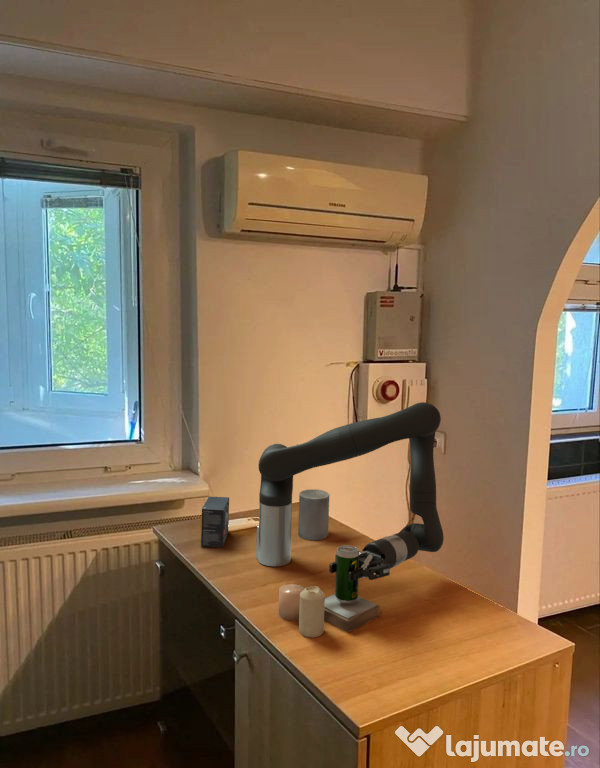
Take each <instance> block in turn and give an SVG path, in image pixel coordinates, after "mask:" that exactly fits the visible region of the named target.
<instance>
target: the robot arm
mask: <svg viewBox="0 0 600 768" xmlns="http://www.w3.org/2000/svg"><path fill="white" fill-rule="evenodd" d="M441 421H442V418H441V414H440V411H439V409H438V408H437V407H436V406H435V405H433V404H431V403H429V402H425V401H424V402H423V401H422V402H421V401H420V402H417V403H415V404H413V405H410V406H409V407H405V408H403V409H402V410H401V409H400V410H398V411H395V412H393V413H390V414H388V415H384V416H380V417H376V418H375V417H374V418H369V419H364V420H360V421H357V422H352V423H347V424H345V425H342V426H338V427H334V428H332V429H329V430H327V431H325V432H323V433H322V434H319V435H318V436H317V435H316V437H313V438H312V439H310V440H308V441H306V442H303V443H299V444H296V445H290V446H288V447H287V446H286V445H284V444H282V443H273V444H271V445H268V446H267V447H266V448H265V449H264V450H263V452H262V454H261V455H260V458H259V460H258V471H259V474H260V487H259V493H258V495H259V496H258V497H259V498H258V500H259V501H258V502H259V503H258V505H259V507H258V525H257V526H256V538H255V539H256V540H255V542H256V544H255V545H256V546H255V547H256V548H255V555H256V556H255V558H256V559H257V561H258V562H259V563H260V564H261V565H263V566H268V567H282V566H286V565H288V564H290V562H291V557H292V555H291V553H292V551H291V550H292V519H293V518H292V516H293V515H292V514H293V513H292V509H293V489H294V476H295V475H297V474H301V473H303V472H305V471H308V470H311V469H314V468H319V467H324V466H328V465H331V464H336V463H339V462H343V461H348V460H350V459H354V458H357V457H361V456H363V455H366V454H369V453H372V452H374V451H376V450H379V449H380V448H383V447H385V446H386V445H389V444H392V443H395V442H398V441H403V440H407V439H408V440H409V447H410V448H409V450H410V475H409V509H410V512H411V513H412V514H414V515H417V516H419V517H421V520H422V522H423V523H420V522H419V523H417V522H416V523H413V522H412V523H409V524H406V525H405V526H404V527H403V528H402V529H401V530H399V532H397V533H394V534H392V535H388V536H387V535H386V536H384V537H381V538H378V539H376V540H374V541H371V542H368V543H367V544H366V545H365V546H364V547H363V549H362V550H360V551H359V550H358V552H359V568H357V569H354V570H352V571H350V572H349V573H348V580H349V581H351V582H352V581H354V580H357V579H359V580H360V579H366V578H368V580H369V581H374V580H378V579H381V578H384V577H388V576H390V574H391V569H393V568H395V567H398V566H399V565H400V564H402V563H404V562H405V561H408V560H410V559H412V558H413V557H415V556H416V555H417V554H418V551H422V552H429V553H436V552H438V551H440V550H441V548H442V546H443V544H444V540H445V539H444V538H445V537H444V531H443V527H442V524H441V519H440V517H439V512H438V509H437V479H436V471H435V464H434V463H435V461H434V449H435V448H434V446H435V437H436V432H437V430H439V427H440V425H441ZM334 560H335V561H333V562H330V563H329V569H328V571H329V573H330V574H336V554H335V558H334Z"/></svg>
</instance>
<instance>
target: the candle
mask: <svg viewBox="0 0 600 768" xmlns="http://www.w3.org/2000/svg"><path fill="white" fill-rule="evenodd" d="M325 598H326V595H325V592H323V591H322V590H321V588H320V587H319V586H315V585H311V586H306V587H304V590H303V591H302V592H301V593H300V610H299V620H298V631H299V632H298V633H299V634H300V635H301V636H304V637H306V638H318V637H320V636H322V635H323V634H324V631H325V621H324V607H325Z"/></svg>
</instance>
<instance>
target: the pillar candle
mask: <svg viewBox="0 0 600 768" xmlns="http://www.w3.org/2000/svg"><path fill="white" fill-rule="evenodd" d="M330 495H331V494H330V493H329V492H328V491H325V490H322V489H316V488H315V489H312V488H311V489H305V490H301V491H300V492H299V496H298V498H299V499H298V525H297V526H298V528H297V535H298V537H299V538H301V539H303V540H306V539H308V541H321V540H324V539H325V538H328V536H329V523H330V522H329V521H330V518H329V515H330Z"/></svg>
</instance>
